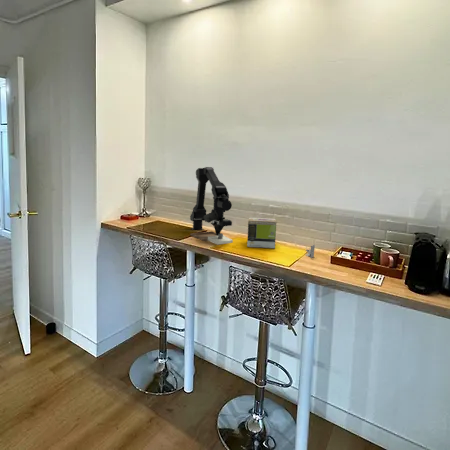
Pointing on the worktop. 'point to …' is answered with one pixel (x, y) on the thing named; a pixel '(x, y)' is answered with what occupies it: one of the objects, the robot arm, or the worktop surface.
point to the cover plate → (220, 239)
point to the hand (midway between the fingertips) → (217, 235)
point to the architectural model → (310, 251)
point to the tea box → (261, 232)
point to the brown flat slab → (203, 235)
